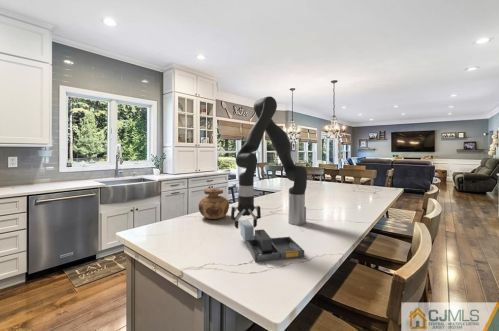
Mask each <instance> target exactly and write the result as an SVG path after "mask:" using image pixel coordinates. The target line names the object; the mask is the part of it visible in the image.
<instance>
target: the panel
mask: <svg viewBox="0 0 499 331" xmlns="http://www.w3.org/2000/svg"><path fill="white" fill-rule="evenodd" d="M254 229H255V228H254V227H253V224H252V223H251V222H250V220H249V219H243V220H240V236H241V238H242V240H243V241H244V243H246V244H247V240H255V230H254Z"/></svg>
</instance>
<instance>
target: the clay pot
mask: <svg viewBox="0 0 499 331" xmlns="http://www.w3.org/2000/svg"><path fill="white" fill-rule="evenodd" d="M203 191H204V192H203V193H204V194H205V195H207V196H205V197H203V198H202V199H201V200H199V203H198V210H199V213H200V214H201V216H202V217H204V218H206V219H208V220H218V219H219V220H220V219H222V218H223V217H225V216H226V215H227V214H228V212H229V210H230V201H229V199H227V198H226V197H224V196H221V195H222V194H224V189H222V188H213V187H212V188H210V187H209V188H206V189H204V190H203Z"/></svg>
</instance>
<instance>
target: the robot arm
mask: <svg viewBox="0 0 499 331" xmlns="http://www.w3.org/2000/svg"><path fill="white" fill-rule="evenodd" d="M277 107H278V104H277V101H276V99H275V98H274V97H273V96H265V97H262V98H260V99H258V100H255V101H254V103H253V110H254V113H255V115H256V117H257V120H256V122H255V123H254V125H253V126H252V127H251V129H250V130H249V133H248V134H247V137H246V140H245V142H244V144H243V145H242V146H241V148H240V150H238V152H237V154H236V157H235V164H236V166H238V167H240V168H245V171H244V172H240V173H239V175H238V194H237V195H238V196H237V199H238V200H237V202H238V203H237V206H231V209H230V210H231V211H230V212H231V213H230V219H231V220H232V221H234V227H235V229H239V219H241V217H246V216H248V217H249V216H251V217H252V218H253V219H252V220H253V221H252V222H253V223H252V226H253V227H254V229H255V228H256V227H257V225H258V220H261V218H262V216H261V215H262V214H261V213H262V212H261V206H260V205H255V188H254V185H255V184H254V183H255V182H254V179H255V177H254V176H255V174H256V170H257V166H258V157H257V155H256V154H255V152H257V151H258V150H259V148H260V144H261V141H262V139H263V136H264V134H265V132H266V134H267V135H268V138H269V140H270V141H271V144H272V146H273V148H274V150H275V152H276V154H277V156H278V158H279V160H280V162H281V165H282V168H283V170H284V173H285V176H286V178H287V179H288V180H289V181H291V182H293V186H291V187H289V188H288V223H289V224H290V225H293V226H294V225H295V226H298V225H299V226H302V225H304V224H307V206H305V204H306V190H307V185H308V184H307V183H308V172H307V168H306V167H305V166H302V165H296V164H295V162H294V161H293V159H292V152H291V151H292V143H291V141H290V139H289V137H288V133H286V132H285V131H284V130H283V129H282V128H281V127H280V126H279V125H277V124H276V123H275V121H274V120H273V119H272V118H273V116H274V115H275V113H276V111H277ZM237 211H238V212H237ZM255 211H256V215H255V214H254V212H255ZM235 212H237V214H236V215H235Z"/></svg>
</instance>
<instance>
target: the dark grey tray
mask: <svg viewBox="0 0 499 331" xmlns="http://www.w3.org/2000/svg"><path fill="white" fill-rule="evenodd" d="M246 247H247V249H248V251H249V253H250V255H251V257H252V259H253V261H254V262H255V263H260V262H269V261H270V262H271V261H281V260H289V259H298V258H299V259H301V258H305V250H304V249H303V248H302V246H300V245H299V244H298V243H297V242H296V241H295V240H293V239H292V237H290V236H282V237H281V236H279V237H270V235H269V234H268V233H267V231H265V229H263V228H262V229H255V230H254V240H247V243H246Z"/></svg>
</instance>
